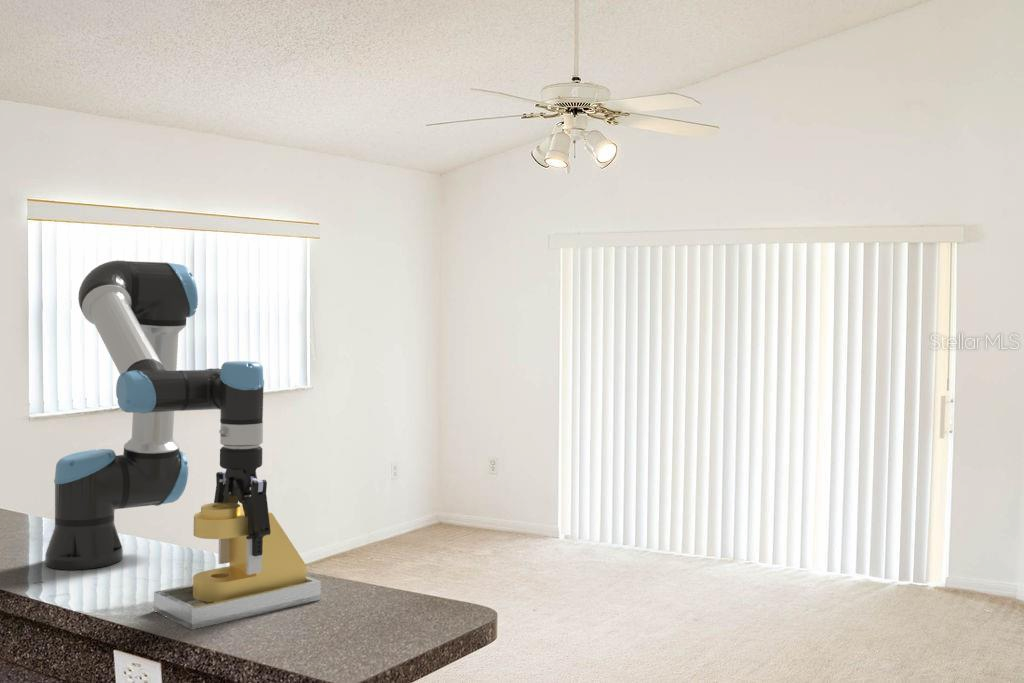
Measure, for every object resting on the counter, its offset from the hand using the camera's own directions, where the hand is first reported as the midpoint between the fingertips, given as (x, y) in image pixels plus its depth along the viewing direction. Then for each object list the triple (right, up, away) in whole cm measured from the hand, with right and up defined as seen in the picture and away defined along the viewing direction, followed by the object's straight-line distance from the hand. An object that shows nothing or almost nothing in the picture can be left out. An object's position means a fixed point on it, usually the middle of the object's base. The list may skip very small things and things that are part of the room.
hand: (239, 567), depth 176 cm
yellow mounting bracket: (+1, -4, +1) cm, 5 cm away
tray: (0, -7, 0) cm, 7 cm away
